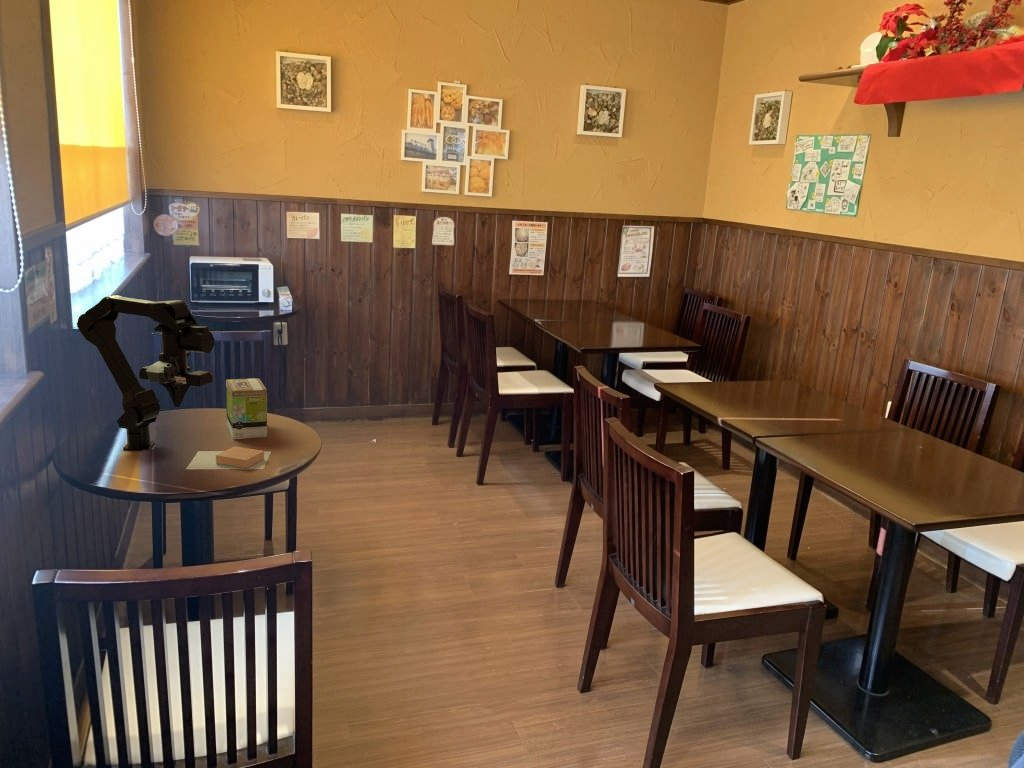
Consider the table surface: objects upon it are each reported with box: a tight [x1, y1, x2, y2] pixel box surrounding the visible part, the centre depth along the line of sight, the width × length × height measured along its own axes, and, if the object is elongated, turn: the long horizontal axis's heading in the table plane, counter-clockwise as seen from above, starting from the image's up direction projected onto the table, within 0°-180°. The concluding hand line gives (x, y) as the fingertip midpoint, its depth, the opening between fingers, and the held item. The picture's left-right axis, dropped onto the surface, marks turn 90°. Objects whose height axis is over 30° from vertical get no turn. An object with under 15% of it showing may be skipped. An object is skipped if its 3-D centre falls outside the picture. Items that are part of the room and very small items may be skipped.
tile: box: [216, 446, 265, 470], centre depth 203 cm, size 2×8×9 cm
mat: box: [185, 450, 272, 470], centre depth 204 cm, size 14×19×1 cm
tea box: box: [225, 377, 268, 440], centre depth 227 cm, size 15×10×15 cm, turn 26°
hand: (177, 406), depth 205 cm, fingers closed
